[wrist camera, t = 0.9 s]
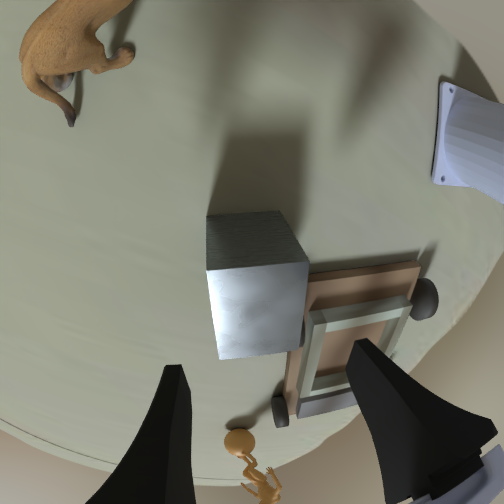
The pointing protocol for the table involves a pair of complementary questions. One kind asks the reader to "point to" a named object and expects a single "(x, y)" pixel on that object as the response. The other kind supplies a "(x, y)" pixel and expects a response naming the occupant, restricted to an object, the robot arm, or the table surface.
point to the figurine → (252, 465)
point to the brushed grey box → (255, 283)
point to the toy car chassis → (348, 331)
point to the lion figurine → (68, 47)
